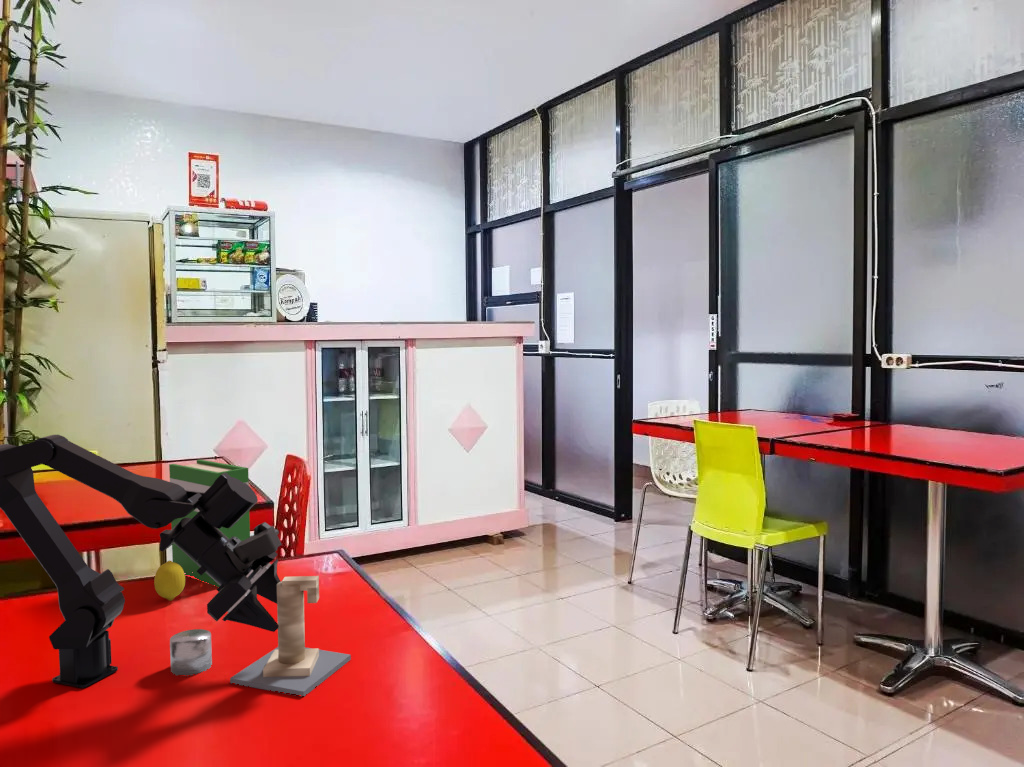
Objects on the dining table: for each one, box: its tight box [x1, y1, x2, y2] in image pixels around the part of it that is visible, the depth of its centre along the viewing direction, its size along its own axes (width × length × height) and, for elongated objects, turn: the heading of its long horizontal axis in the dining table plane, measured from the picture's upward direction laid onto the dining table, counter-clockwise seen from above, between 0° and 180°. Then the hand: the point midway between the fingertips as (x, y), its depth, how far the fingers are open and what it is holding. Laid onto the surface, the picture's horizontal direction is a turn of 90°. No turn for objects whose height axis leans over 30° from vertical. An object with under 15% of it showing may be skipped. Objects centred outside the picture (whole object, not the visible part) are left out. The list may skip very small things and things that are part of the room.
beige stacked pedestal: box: [263, 575, 320, 677], centre depth 117 cm, size 8×7×14 cm
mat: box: [229, 646, 352, 697], centre depth 117 cm, size 13×13×1 cm
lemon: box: [153, 560, 186, 602], centre depth 147 cm, size 6×6×8 cm
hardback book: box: [168, 459, 251, 588], centre depth 162 cm, size 18×7×24 cm, turn 55°
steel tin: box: [169, 628, 213, 677], centre depth 118 cm, size 6×6×5 cm
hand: (284, 617), depth 116 cm, fingers open, 9 cm apart
